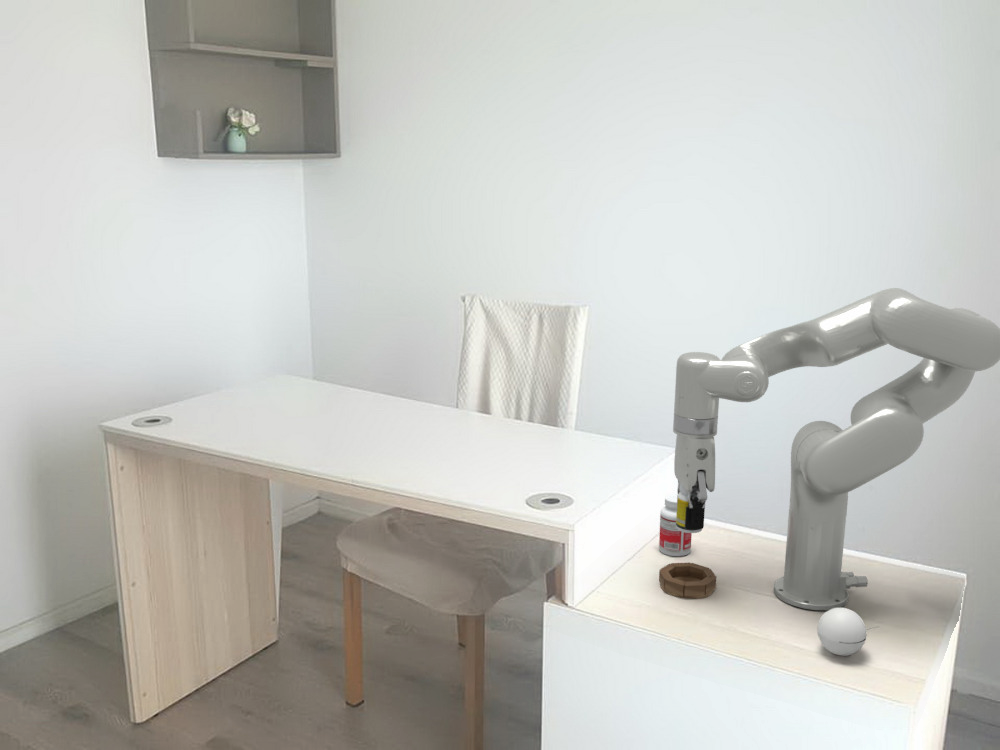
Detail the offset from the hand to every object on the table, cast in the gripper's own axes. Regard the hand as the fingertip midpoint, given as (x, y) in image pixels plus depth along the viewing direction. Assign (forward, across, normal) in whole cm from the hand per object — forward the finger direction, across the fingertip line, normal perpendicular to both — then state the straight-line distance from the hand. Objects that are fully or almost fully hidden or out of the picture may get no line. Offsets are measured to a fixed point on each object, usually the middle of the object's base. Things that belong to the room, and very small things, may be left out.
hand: (689, 521), depth 174 cm
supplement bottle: (+2, 0, 0) cm, 2 cm away
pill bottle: (+13, +16, -2) cm, 21 cm away
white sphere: (+13, -25, -19) cm, 34 cm away
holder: (+13, 0, 0) cm, 13 cm away
